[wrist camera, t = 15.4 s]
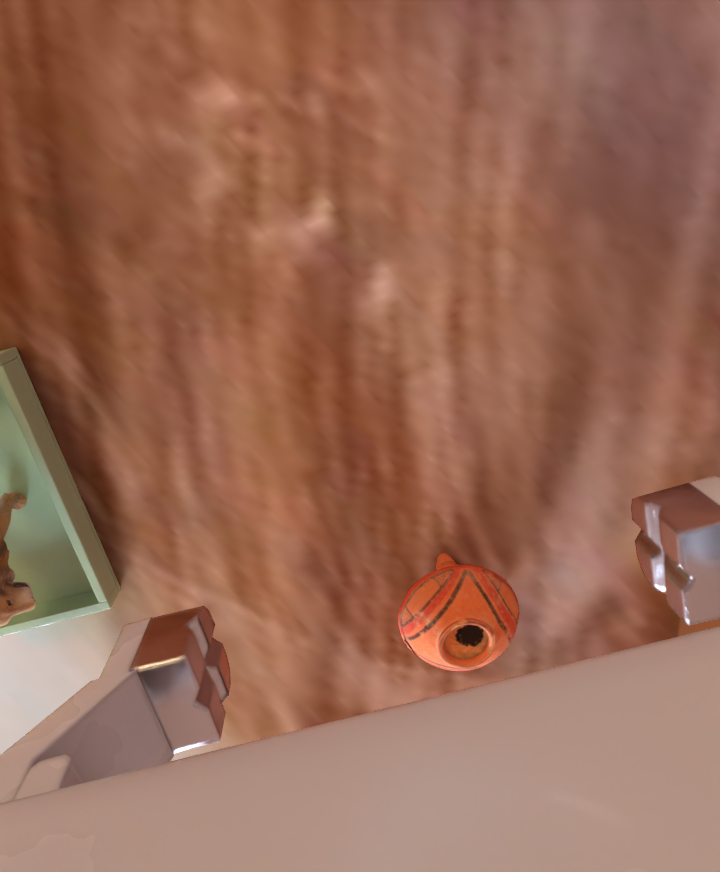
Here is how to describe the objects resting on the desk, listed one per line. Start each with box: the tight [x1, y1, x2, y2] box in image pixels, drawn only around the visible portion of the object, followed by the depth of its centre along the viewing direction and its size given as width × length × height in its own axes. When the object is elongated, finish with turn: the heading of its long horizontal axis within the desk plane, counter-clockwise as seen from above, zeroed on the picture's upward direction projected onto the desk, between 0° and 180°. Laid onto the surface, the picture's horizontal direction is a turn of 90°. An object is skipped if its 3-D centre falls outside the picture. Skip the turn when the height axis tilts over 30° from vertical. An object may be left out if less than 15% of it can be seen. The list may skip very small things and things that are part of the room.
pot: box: [398, 553, 519, 671], centre depth 44 cm, size 8×8×7 cm
